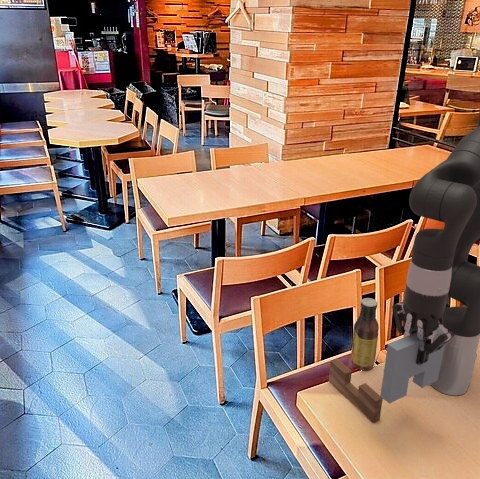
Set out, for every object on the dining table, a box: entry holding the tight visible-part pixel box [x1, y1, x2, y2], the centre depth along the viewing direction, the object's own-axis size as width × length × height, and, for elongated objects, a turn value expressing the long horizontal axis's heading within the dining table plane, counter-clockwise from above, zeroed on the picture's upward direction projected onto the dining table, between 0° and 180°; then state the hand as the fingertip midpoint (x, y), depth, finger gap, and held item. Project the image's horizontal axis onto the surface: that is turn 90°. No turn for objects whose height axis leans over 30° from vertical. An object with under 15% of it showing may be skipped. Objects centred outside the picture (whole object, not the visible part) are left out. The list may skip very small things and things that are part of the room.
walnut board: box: [328, 358, 384, 424], centre depth 109 cm, size 2×16×6 cm, turn 28°
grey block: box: [379, 328, 448, 404], centre depth 93 cm, size 14×2×13 cm, turn 118°
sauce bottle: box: [350, 297, 380, 371], centre depth 119 cm, size 7×6×20 cm
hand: (414, 358), depth 92 cm, fingers closed on grey block, 2 cm apart
